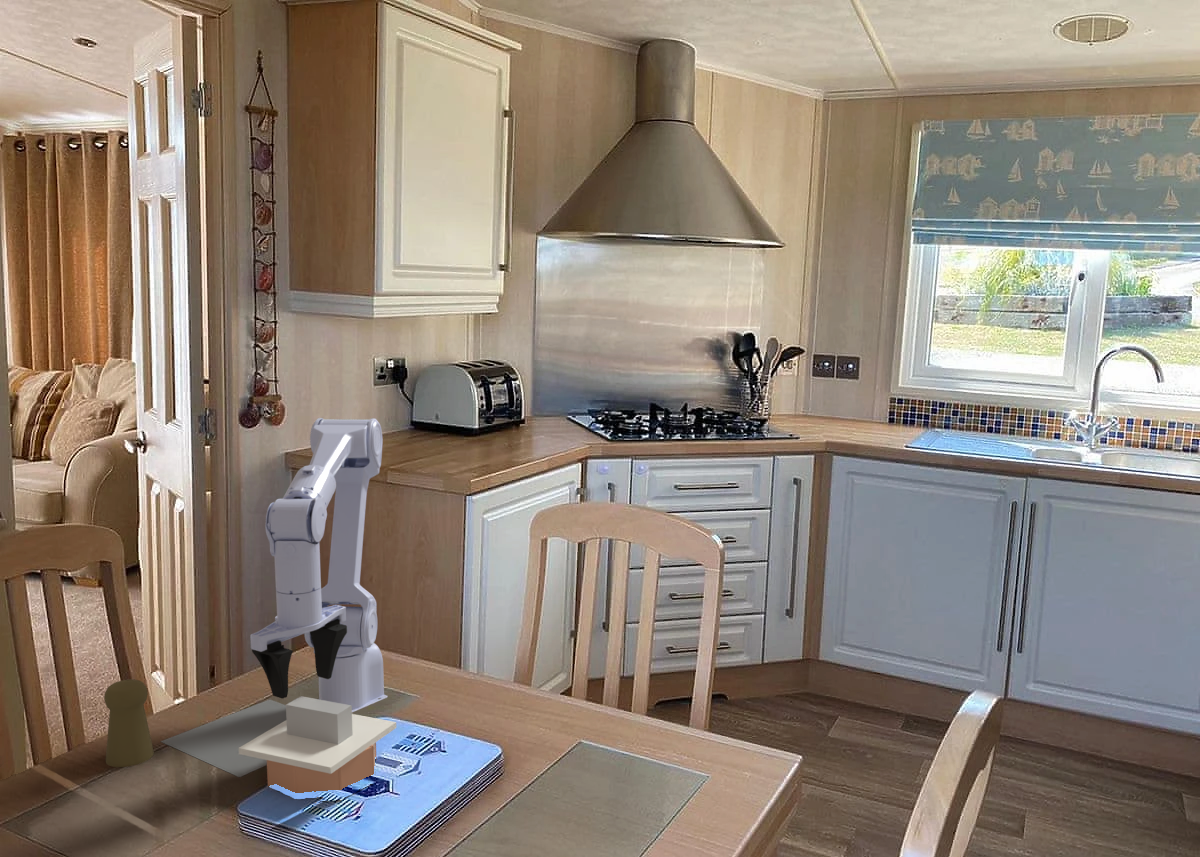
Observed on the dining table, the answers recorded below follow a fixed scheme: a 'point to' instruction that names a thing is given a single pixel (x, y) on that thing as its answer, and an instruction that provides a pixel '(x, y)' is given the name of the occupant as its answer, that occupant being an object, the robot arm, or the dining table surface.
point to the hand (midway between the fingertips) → (302, 686)
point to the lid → (318, 736)
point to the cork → (127, 724)
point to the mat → (231, 737)
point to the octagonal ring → (322, 774)
